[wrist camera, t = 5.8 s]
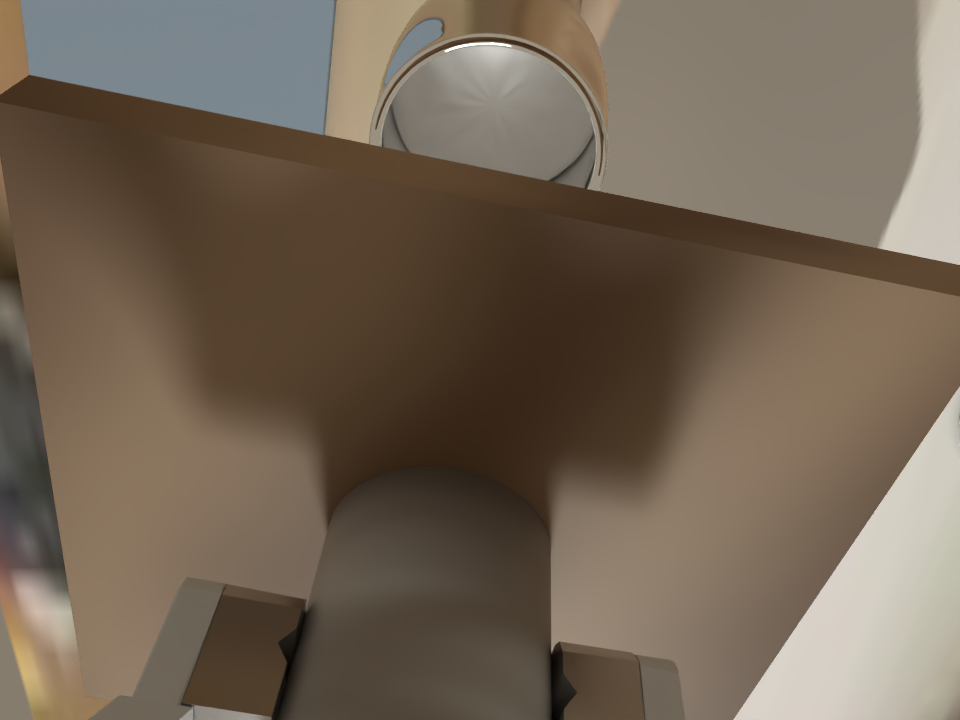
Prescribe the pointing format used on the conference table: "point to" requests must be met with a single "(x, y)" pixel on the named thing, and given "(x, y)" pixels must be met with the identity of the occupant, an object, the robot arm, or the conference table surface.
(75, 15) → the slate mat
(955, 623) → the conference table surface
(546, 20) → the beer glass
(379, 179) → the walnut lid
